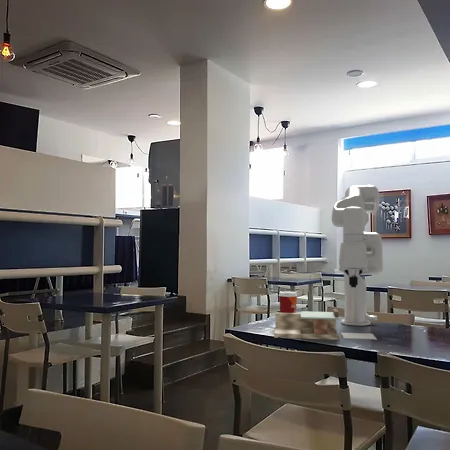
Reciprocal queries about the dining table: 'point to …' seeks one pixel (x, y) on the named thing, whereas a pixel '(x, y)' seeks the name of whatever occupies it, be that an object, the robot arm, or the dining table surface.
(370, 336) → the grey mat
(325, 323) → the terracotta block
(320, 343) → the dining table surface
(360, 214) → the robot arm
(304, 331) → the wooden box
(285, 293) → the coffee cup
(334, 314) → the sliding lid
